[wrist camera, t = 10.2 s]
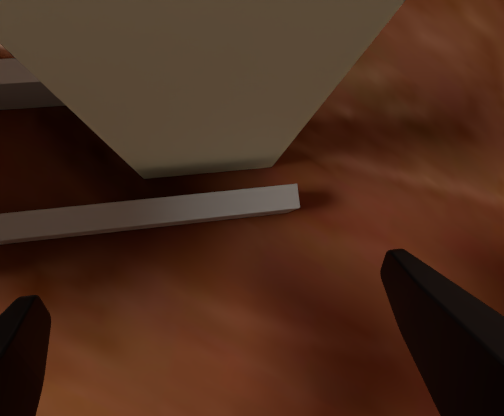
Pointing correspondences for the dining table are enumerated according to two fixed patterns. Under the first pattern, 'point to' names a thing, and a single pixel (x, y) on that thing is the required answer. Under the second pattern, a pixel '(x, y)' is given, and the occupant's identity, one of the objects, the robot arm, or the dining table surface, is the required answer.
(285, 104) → the rectangular block
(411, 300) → the robot arm
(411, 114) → the dining table surface
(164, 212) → the cabinet
